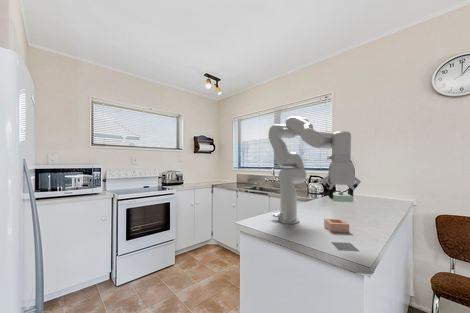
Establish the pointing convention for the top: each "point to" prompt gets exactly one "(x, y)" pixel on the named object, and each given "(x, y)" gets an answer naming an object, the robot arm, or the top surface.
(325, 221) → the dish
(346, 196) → the green block with hole
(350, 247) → the mat
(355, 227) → the top surface
